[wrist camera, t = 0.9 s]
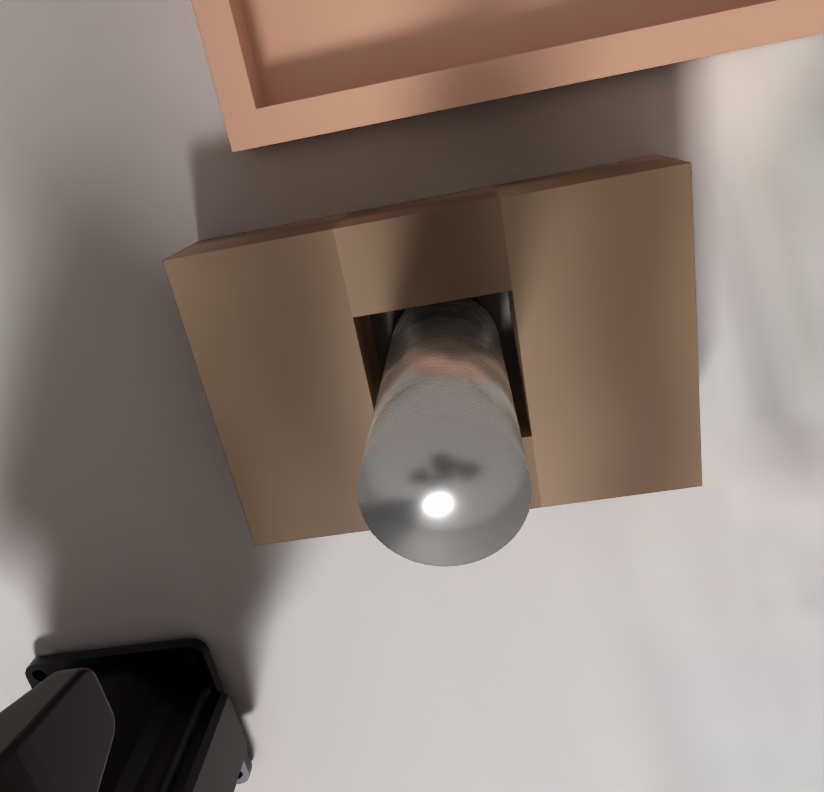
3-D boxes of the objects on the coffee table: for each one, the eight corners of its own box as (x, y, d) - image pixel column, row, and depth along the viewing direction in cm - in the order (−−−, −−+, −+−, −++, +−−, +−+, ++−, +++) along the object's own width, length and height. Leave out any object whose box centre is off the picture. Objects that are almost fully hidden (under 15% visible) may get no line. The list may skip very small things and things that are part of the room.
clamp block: (275, 498, 21) (254, 545, 19) (198, 241, 18) (162, 260, 16) (672, 442, 20) (702, 485, 18) (658, 155, 17) (691, 162, 15)
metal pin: (402, 402, 20) (376, 575, 13) (381, 303, 19) (339, 429, 12) (506, 386, 20) (541, 555, 12) (491, 284, 19) (519, 401, 11)
